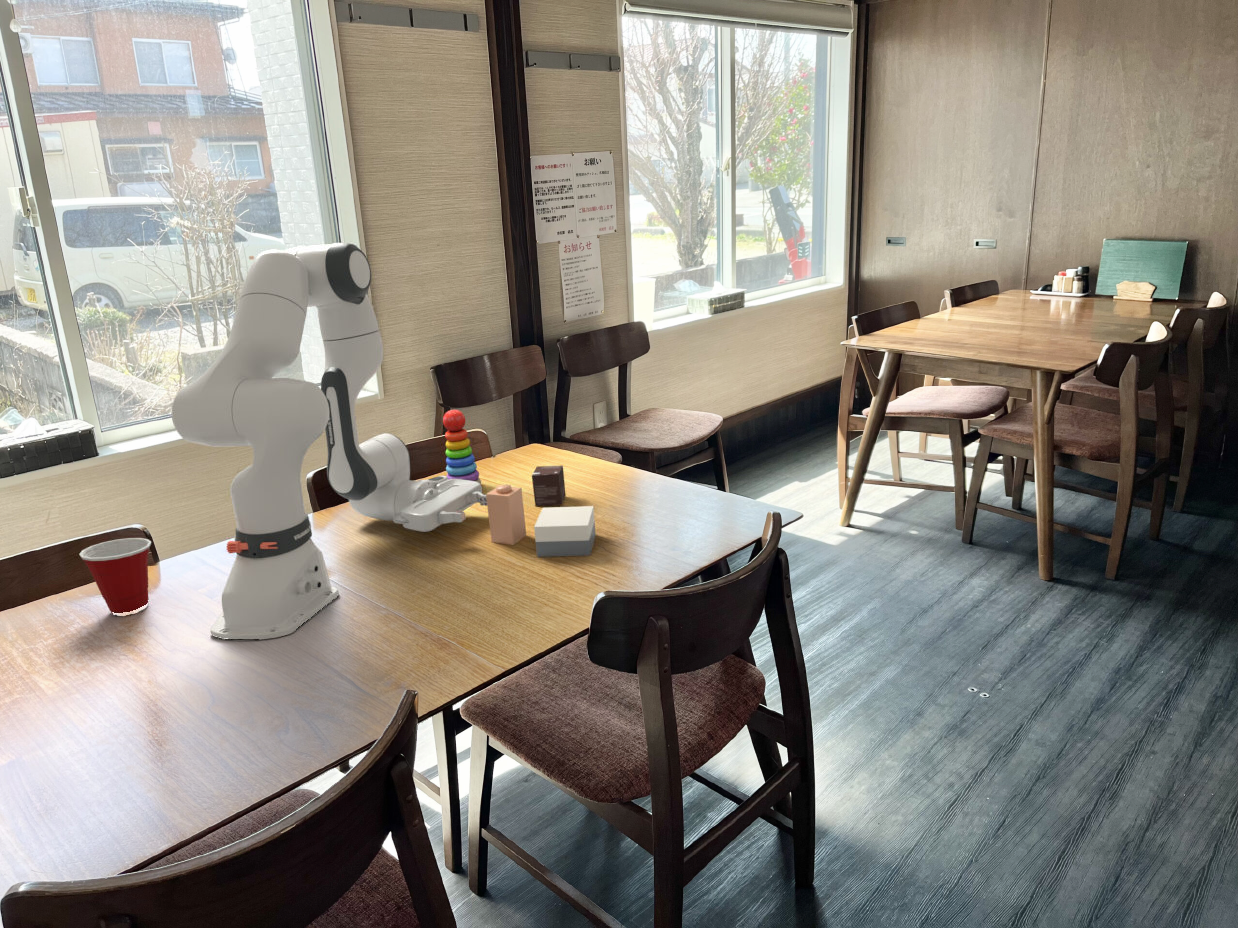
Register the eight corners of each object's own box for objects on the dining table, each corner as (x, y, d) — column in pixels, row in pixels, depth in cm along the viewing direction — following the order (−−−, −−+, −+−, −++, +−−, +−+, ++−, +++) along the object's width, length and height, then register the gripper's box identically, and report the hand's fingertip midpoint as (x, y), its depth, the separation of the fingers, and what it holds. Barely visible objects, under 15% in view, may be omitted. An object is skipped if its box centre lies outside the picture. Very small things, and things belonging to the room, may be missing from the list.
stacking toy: (470, 480, 213) (461, 403, 208) (487, 487, 207) (479, 409, 202) (441, 488, 209) (430, 410, 203) (458, 496, 203) (448, 416, 197)
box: (566, 496, 198) (563, 465, 196) (562, 506, 192) (559, 473, 190) (539, 497, 199) (536, 465, 197) (534, 506, 193) (531, 474, 191)
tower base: (590, 555, 166) (587, 525, 164) (537, 556, 167) (534, 526, 165) (595, 534, 176) (593, 506, 174) (545, 536, 176) (542, 507, 175)
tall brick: (513, 544, 173) (507, 492, 170) (491, 541, 175) (485, 490, 172) (526, 535, 178) (521, 483, 174) (504, 532, 180) (499, 481, 176)
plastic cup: (179, 596, 160) (164, 534, 156) (132, 625, 150) (116, 560, 146) (129, 593, 163) (114, 532, 159) (81, 621, 153) (63, 556, 149)
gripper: (385, 505, 174) (444, 512, 168) (446, 472, 191) (501, 477, 186) (390, 535, 175) (448, 543, 170) (449, 500, 193) (504, 506, 187)
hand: (476, 508), depth 178 cm, fingers open, 8 cm apart
